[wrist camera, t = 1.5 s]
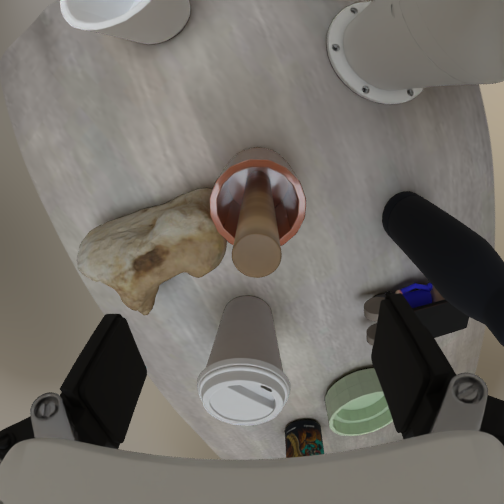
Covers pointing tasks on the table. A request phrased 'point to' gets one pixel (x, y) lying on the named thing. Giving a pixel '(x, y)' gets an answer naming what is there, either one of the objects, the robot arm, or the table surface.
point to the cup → (129, 18)
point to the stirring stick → (257, 229)
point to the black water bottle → (450, 258)
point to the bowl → (357, 404)
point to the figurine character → (421, 310)
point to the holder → (282, 184)
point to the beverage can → (303, 439)
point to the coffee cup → (244, 366)
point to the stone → (153, 248)
